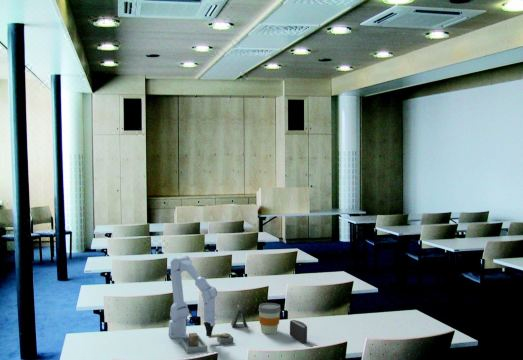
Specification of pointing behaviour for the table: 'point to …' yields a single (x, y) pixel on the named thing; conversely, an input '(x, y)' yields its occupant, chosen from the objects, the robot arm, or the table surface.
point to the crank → (219, 335)
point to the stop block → (193, 339)
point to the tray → (188, 349)
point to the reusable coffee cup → (269, 317)
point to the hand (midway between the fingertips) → (209, 335)
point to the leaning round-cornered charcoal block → (298, 331)
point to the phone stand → (237, 318)
